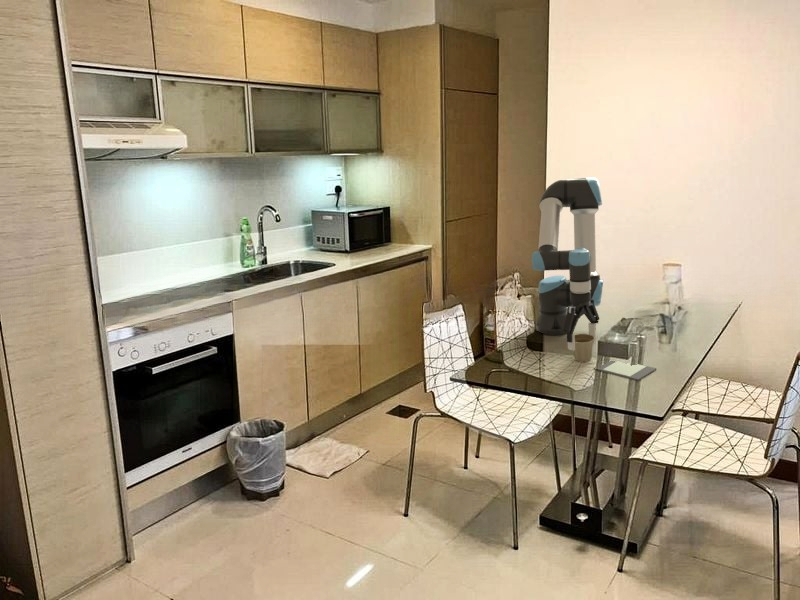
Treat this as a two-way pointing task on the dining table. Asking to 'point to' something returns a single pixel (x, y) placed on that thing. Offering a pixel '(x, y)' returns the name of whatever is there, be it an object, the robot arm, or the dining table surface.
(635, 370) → the flat plate
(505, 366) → the dining table surface
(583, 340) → the flower pot
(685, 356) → the dining table surface
